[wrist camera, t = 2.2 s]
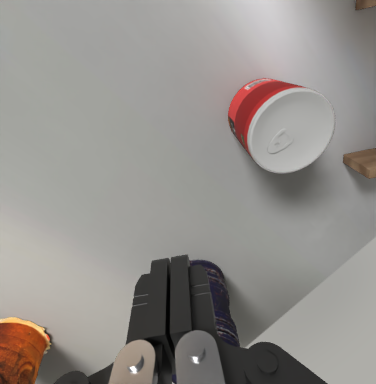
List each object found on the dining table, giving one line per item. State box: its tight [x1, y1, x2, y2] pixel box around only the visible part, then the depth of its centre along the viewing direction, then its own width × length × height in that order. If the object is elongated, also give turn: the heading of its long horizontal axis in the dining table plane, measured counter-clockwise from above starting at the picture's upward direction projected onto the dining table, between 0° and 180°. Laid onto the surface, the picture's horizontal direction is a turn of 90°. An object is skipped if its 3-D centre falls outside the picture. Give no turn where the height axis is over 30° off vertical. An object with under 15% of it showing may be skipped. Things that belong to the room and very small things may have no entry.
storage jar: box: [172, 260, 240, 384], centre depth 40 cm, size 10×10×15 cm
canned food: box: [228, 78, 335, 174], centre depth 28 cm, size 8×8×11 cm
